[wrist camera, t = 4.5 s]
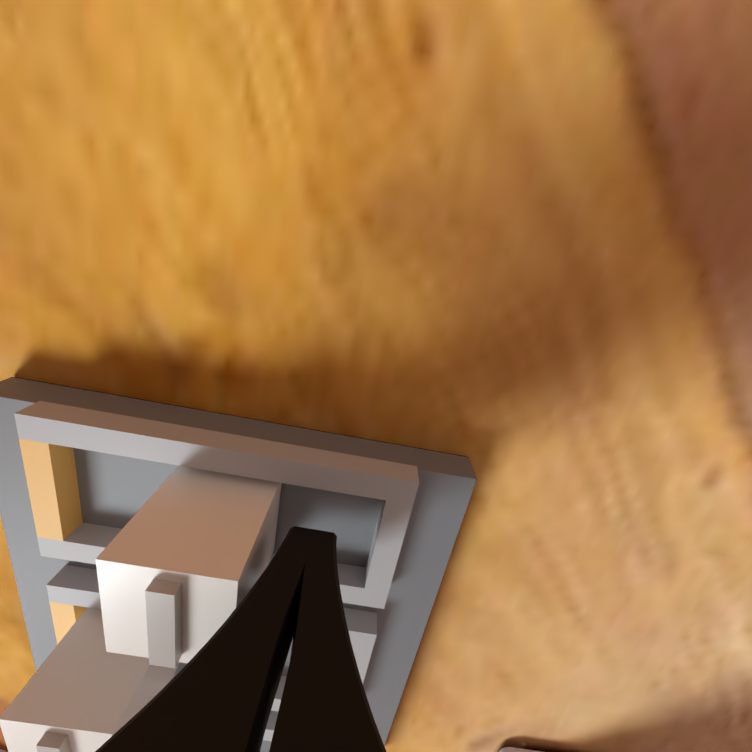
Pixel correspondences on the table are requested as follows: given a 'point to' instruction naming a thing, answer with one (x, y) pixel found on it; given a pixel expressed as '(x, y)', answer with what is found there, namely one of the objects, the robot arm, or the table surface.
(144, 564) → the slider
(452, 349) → the table surface
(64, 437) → the switch unit
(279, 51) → the table surface
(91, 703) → the slider mid
